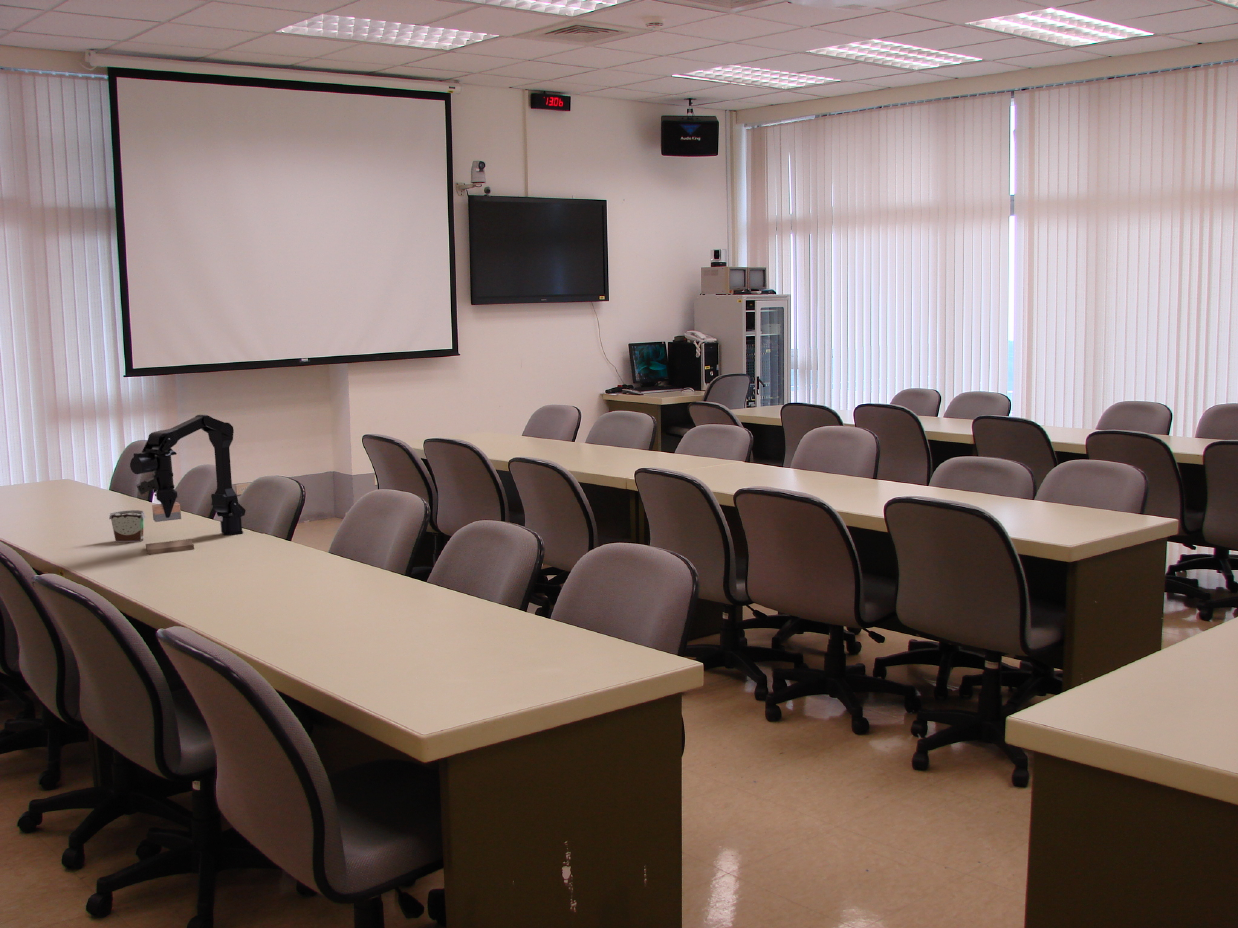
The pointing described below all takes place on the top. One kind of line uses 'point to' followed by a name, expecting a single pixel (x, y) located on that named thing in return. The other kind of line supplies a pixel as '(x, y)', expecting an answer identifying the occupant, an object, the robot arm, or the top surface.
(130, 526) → the food container
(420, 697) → the top surface
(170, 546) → the walnut stand
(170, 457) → the robot arm
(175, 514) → the block
